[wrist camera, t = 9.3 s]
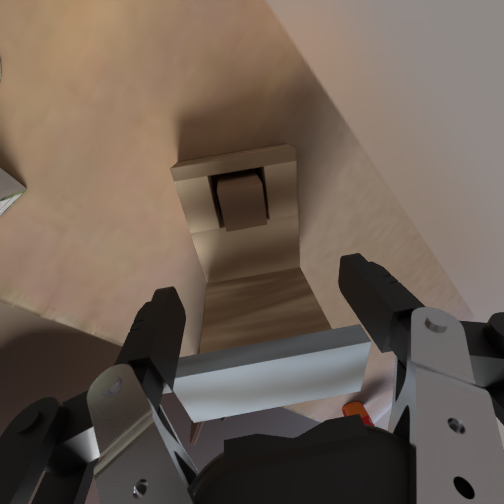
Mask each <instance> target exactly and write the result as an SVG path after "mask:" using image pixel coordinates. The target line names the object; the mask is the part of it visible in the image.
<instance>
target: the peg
mask: <svg viewBox="0 0 504 504" xmlns="http://www.w3.org/2000/svg"><path fill="white" fill-rule="evenodd" d="M217 194H218V198H219V202H220V206H221V211H222V215H223V219H224V224H225V228H226V232H230V231H235V230H241V229H246V228H252V227H257V226H262V225H267V219H266V211H265V203H264V195H263V187H262V182H261V180H260V179H259V177H258V176H257V174H256V172H255V171H254V169H248V170H242V171H237V172H231V173H226V174H220V175H219V177H218V186H217Z"/></svg>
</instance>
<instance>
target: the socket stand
mask: <svg viewBox="0 0 504 504" xmlns="http://www.w3.org/2000/svg"><path fill="white" fill-rule="evenodd" d="M257 167H260V176H261V182H262V187H263V195H264V203H265V211H266V219H267V225H262V226H257V227H252V228H246V229H241V230H235V231H230V232H226V228H225V224H224V219H223V215H220V212H219V208H218V203H217V199H216V195H215V190H214V186H213V182H212V177H211V175H216V174H222V173H228V172H234V171H240V170H245V169H251V168H257ZM170 170H171V173H172V177H173V180H174V183H175V186H176V189H177V192H178V195H179V198H180V202H181V205H182V208H183V211H184V214H185V217H186V220H187V223H188V226H189V230H190V233H191V236H192V239H193V242H194V245H195V248H196V251H197V255H198V258H199V261H200V264H201V267H202V270H203V273H204V276H205V279H206V283H207V288H206V297H205V306H204V315H203V324H202V333H201V342H200V351H199V354H196V355H191V356H186V357H180V358H179V360H178V365H177V370H176V376H175V381H174V386H173V390H174V392H175V394H176V395H177V396H178V398H179V400H180V402H181V403H182V404H183V406H184V408H185V409H186V411H187V413H188V414H189V416H190V417H191V419H192V421H193V422H194V423H196V422H201V421H206V420H211V419H217V418H222V417H227V416H232V415H238V414H243V413H248V412H253V411H258V410H264V409H269V408H274V407H279V406H285V405H290V404H295V403H300V402H306V401H311V400H316V399H321V398H327V397H332V396H337V395H342V394H347V393H353V392H358V391H361V386H362V382H363V377H364V373H365V368H366V364H367V359H368V355H369V351H370V346H371V340H370V339H369V337H368V336H367V334H366V333H365V331H364V330H363V328H362V327H361V325H360V324H358V325H353V326H348V327H342V328H337V329H332V328H331V326H330V324H329V322H328V320H327V319H326V317H325V315H324V313H323V311H322V309H321V307H320V305H319V303H318V301H317V299H316V297H315V295H314V293H313V291H312V290H311V288H310V286H309V284H308V282H307V280H306V278H305V276H304V274H303V272H302V270H301V268H300V253H299V223H298V192H297V162H296V147H294V146H291V145H288V144H281V145H275V146H269V147H264V148H258V149H252V150H246V151H240V152H234V153H228V154H222V155H216V156H210V157H204V158H198V159H192V160H186V161H180V162H177V163H176V164H175V165H174V166H172V167H171V168H170Z"/></svg>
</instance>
